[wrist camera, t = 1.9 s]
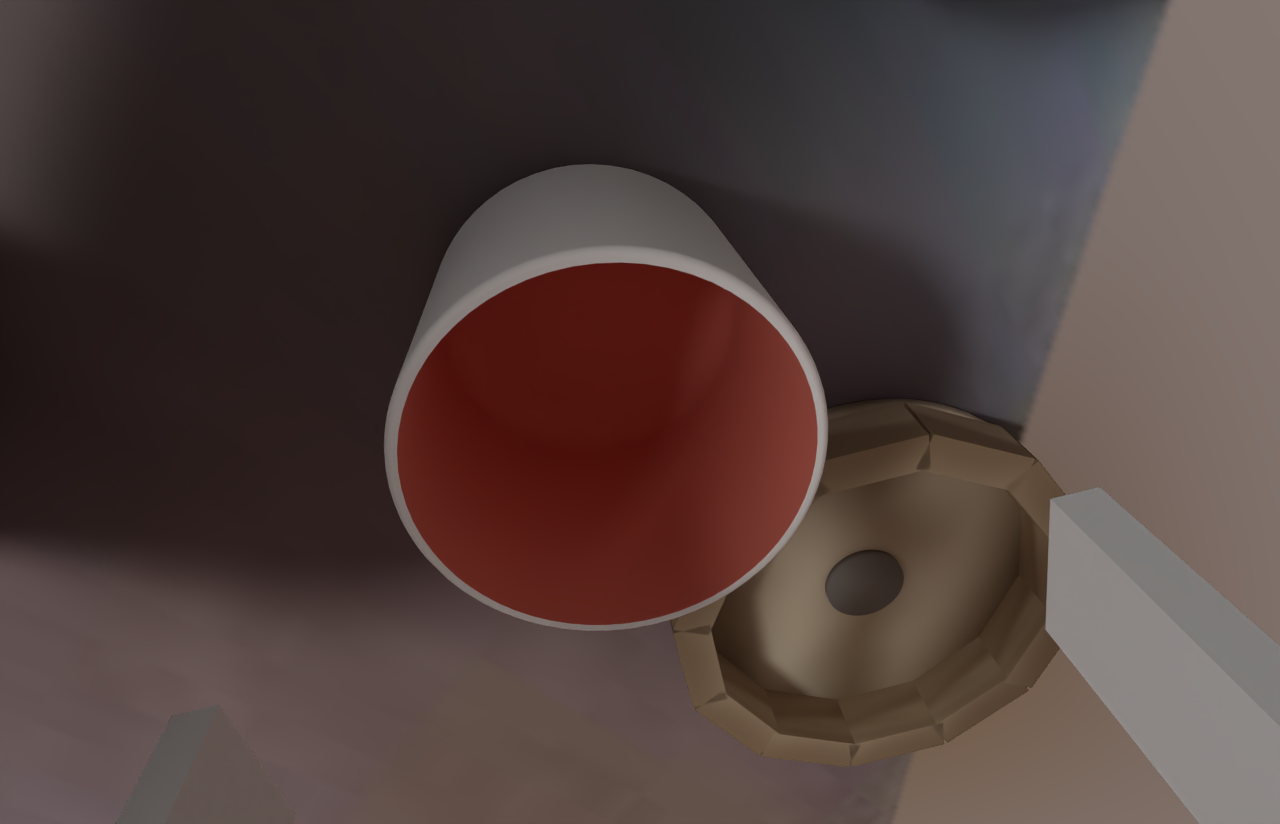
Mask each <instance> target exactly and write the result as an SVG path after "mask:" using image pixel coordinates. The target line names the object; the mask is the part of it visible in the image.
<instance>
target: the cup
mask: <svg viewBox="0 0 1280 824" xmlns="http://www.w3.org/2000/svg"><path fill="white" fill-rule="evenodd" d="M827 444H828V415H827V405H826V400H825V394H824V389H823V386H822V382H821V379H820V375H819V373H818V370H817V368H816V365H815V363H814V360H813V358H812V356H811V354H810V352H809V350H808V348H807V346H806V345H805V343H804V342H803V340H802V338H801V337H800V335H799V334H798V332H797V331H796V329H795V328H794V327H793V325H792V324H791V323H790V321H789V320H788V319H787V318H786V316H785V315H784V314H783V312H782V311H781V310H780V308H779V307H778V306H777V304H776V303H775V302H774V300H773V299H772V298H771V297H770V295H769V294H768V293H767V291H766V290H765V289H764V287H763V286H762V285H761V283H760V282H759V281H758V279H757V278H756V277H755V275H754V274H753V273H752V272H751V270H750V269H749V268H748V266H747V265H746V264H745V262H744V261H743V260H742V258H741V257H740V256H739V254H738V253H737V252H736V251H735V249H734V248H733V247H732V245H731V244H730V243H729V241H728V240H727V239H726V237H725V236H724V235H723V233H722V232H721V231H720V230H719V228H718V227H717V226H716V224H715V223H714V222H713V220H712V219H711V218H710V217H709V216H708V215H707V214H706V213H705V212H704V211H703V210H702V209H701V208H700V207H699V206H698V205H697V204H696V203H695V202H693V201H692V200H691V199H690V198H689V197H687V196H686V195H685V194H683V193H682V192H680V191H679V190H677V189H675V188H674V187H672V186H671V185H669V184H667V183H665V182H663V181H661V180H659V179H656V178H654V177H652V176H650V175H647V174H644V173H641V172H638V171H635V170H632V169H627V168H622V167H617V166H611V165H598V164H583V165H569V166H564V167H558V168H552V169H549V170H545V171H542V172H539V173H535V174H533V175H530V176H528V177H526V178H523V179H521V180H519V181H516V182H515V183H513V184H511V185H509V186H508V187H506V188H504V189H502V190H501V191H499V192H498V193H497V194H495V195H494V196H493V197H491V198H490V199H488V200H487V201H486V202H485V203H484V204H483V205H482V206H480V207H479V208H478V209H477V210H476V211H475V212H474V213H473V214H472V215H471V216H470V218H469V219H468V220H467V221H466V222H465V223H464V224H463V226H462V227H461V228H460V230H459V231H458V233H457V234H456V235H455V237H454V239H453V240H452V242H451V244H450V245H449V247H448V249H447V251H446V253H445V256H444V258H443V260H442V262H441V265H440V267H439V270H438V273H437V275H436V278H435V281H434V284H433V286H432V289H431V292H430V294H429V297H428V300H427V302H426V305H425V308H424V311H423V313H422V316H421V318H420V321H419V324H418V326H417V329H416V332H415V334H414V337H413V339H412V342H411V345H410V347H409V350H408V353H407V355H406V358H405V361H404V363H403V366H402V368H401V371H400V374H399V376H398V379H397V382H396V384H395V387H394V390H393V393H392V396H391V400H390V403H389V408H388V412H387V417H386V424H385V433H384V457H385V469H386V474H387V479H388V485H389V489H390V492H391V495H392V499H393V502H394V505H395V507H396V509H397V512H398V514H399V517H400V519H401V521H402V523H403V524H404V526H405V528H406V530H407V532H408V533H409V535H410V537H411V538H412V540H413V541H414V543H415V544H416V546H417V547H418V548H419V549H420V551H421V552H422V553H423V554H424V556H425V557H426V558H427V559H428V560H429V561H430V562H431V563H432V564H433V565H434V566H435V567H436V568H437V569H438V570H439V571H440V572H441V573H442V574H443V575H444V576H445V577H446V578H447V579H448V580H449V581H451V582H452V583H453V584H455V585H456V586H457V587H459V588H460V589H461V590H463V591H464V592H466V593H467V594H469V595H470V596H472V597H474V598H475V599H477V600H479V601H480V602H482V603H484V604H486V605H488V606H490V607H492V608H494V609H496V610H498V611H501V612H503V613H506V614H509V615H511V616H514V617H516V618H519V619H522V620H526V621H530V622H533V623H537V624H541V625H546V626H551V627H557V628H563V629H574V630H586V631H597V630H619V629H629V628H636V627H641V626H647V625H652V624H656V623H660V622H664V621H667V620H671V619H674V618H677V617H680V616H683V615H685V614H688V613H691V612H693V611H696V610H698V609H700V608H702V607H705V606H707V605H709V604H711V603H713V602H715V601H717V600H718V599H720V598H722V597H724V596H725V595H727V594H729V593H731V592H732V591H734V590H735V589H737V588H738V587H739V586H741V585H742V584H744V583H745V582H747V581H748V580H749V579H750V578H752V577H753V576H754V575H755V574H756V573H758V572H759V571H760V570H761V569H762V568H764V567H765V566H766V565H767V564H768V563H769V562H770V561H771V560H772V559H773V558H774V557H775V556H776V555H777V554H778V552H779V551H780V550H781V549H782V548H783V547H784V546H785V544H786V543H787V542H788V540H789V539H790V538H791V537H792V535H793V534H794V533H795V531H796V529H797V528H798V526H799V525H800V523H801V522H802V520H803V519H804V517H805V515H806V513H807V511H808V509H809V507H810V505H811V503H812V501H813V498H814V496H815V494H816V491H817V489H818V486H819V482H820V479H821V476H822V473H823V468H824V464H825V459H826V453H827Z"/></svg>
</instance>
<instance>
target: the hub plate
mask: <svg viewBox="0 0 1280 824" xmlns="http://www.w3.org/2000/svg"><path fill="white" fill-rule="evenodd" d="M827 415H828V444H827V453H826V459H825V464H824V468H823V473H822V476H821V479H820V482H819V486H818V489H817V491H816V494H815V496H814V498H813V501H812V503H811V505H810V507H809V509H808V511H807V513H806V515H805V517H804V519H803V520H802V522H801V523H800V525H799V526H798V528H797V529H796V531H795V533H794V534H793V535H792V537H791V538H790V539H789V540H788V542H787V543H786V544H785V546H784V547H783V548H782V549H781V550H780V551H779V552H778V554H777V555H776V556H775V557H774V558H773V559H772V560H771V561H770V562H769V563H768V564H767V565H766V566H765V567H764V568H762V569H761V570H760V571H759V572H758V573H756V574H755V575H754V576H753V577H752V578H750V579H749V580H748V581H747V582H745V583H744V584H742V585H741V586H739V587H738V588H737V589H735V590H734V591H732V592H731V593H729V594H727V595H725V596H724V597H722V598H720V599H718V600H717V601H715V602H713V603H711V604H709V605H707V606H705V607H702V608H700V609H698V610H696V611H693V612H691V613H688V614H685V615H683V616H680V617H677V618H674V619H671V620H670V621H671V626H672V630H673V635H674V638H675V642H676V646H677V649H678V653H679V657H680V660H681V664H682V668H683V671H684V675H685V679H686V682H687V686H688V690H689V693H690V697H691V701H692V704H693V707H695V710H696V711H697V712H699V713H700V714H701V715H703V716H704V717H706V718H707V719H708V720H710V721H711V722H713V723H714V724H715V725H717V726H718V727H720V728H721V729H722V730H724V731H725V732H727V733H728V734H729V735H731V736H732V737H733V738H735V739H736V740H738V741H739V742H740V743H742V744H743V745H745V746H746V747H747V748H749V749H750V750H752V751H753V752H754V753H756V754H757V755H759V754H760V753H761V756H763V757H771V758H779V759H787V760H795V761H803V762H811V763H819V764H827V765H835V766H843V767H848V766H849V764H851V766H852V767H853V766H857V765H861V764H865V763H869V762H873V761H877V760H882V759H886V758H890V757H894V756H898V755H902V754H906V753H910V752H914V751H918V750H922V749H926V748H930V747H934V746H938V745H942V744H944V740H945V741H947V742H949V741H951V740H952V739H954V738H955V737H957V736H959V735H960V734H962V733H963V732H965V731H966V730H968V729H970V728H971V727H973V726H974V725H976V724H977V723H979V722H980V721H982V720H983V719H985V718H987V717H988V716H990V715H991V714H993V713H994V712H996V711H997V710H999V709H1001V708H1002V707H1004V706H1005V705H1007V704H1008V703H1010V702H1012V701H1013V700H1015V699H1016V698H1018V697H1019V696H1021V695H1022V694H1024V693H1026V692H1027V691H1028V689H1027V687H1033V685H1034V684H1035V682H1036V681H1037V679H1038V678H1039V677H1040V675H1041V674H1042V672H1043V671H1044V670H1045V668H1046V667H1047V665H1048V664H1049V663H1050V661H1051V660H1052V658H1053V657H1054V655H1055V654H1056V652H1057V651H1058V650H1059V648H1060V647H1059V646H1058V645H1057V643H1056V642H1055V641H1054V640H1053V638H1052V637H1051V636H1050V635H1049V633H1048V632H1047V631H1046V630H1045V626H1046V600H1047V574H1048V547H1049V521H1050V499H1052V498H1056V497H1060V496H1064V495H1065V494H1064V493H1063V491H1062V490H1061V488H1060V487H1059V486H1058V485H1057V484H1056V482H1055V481H1054V480H1053V478H1052V477H1051V476H1050V474H1049V473H1048V472H1047V471H1046V469H1045V468H1044V467H1043V466H1042V464H1041V463H1040V462H1039V461H1038V460H1037V459H1036V458H1035V457H1034V456H1033V455H1032V454H1031V453H1030V452H1029V451H1028V450H1027V449H1026V448H1024V447H1023V446H1022V445H1021V444H1020V443H1019V442H1018V441H1017V440H1016V439H1015V438H1014V437H1013V436H1012V435H1011V434H1010V433H1008V432H1007V431H1006V430H1005V429H1004V428H1002V427H1001V426H999V425H995V424H991V423H987V422H986V421H984V420H982V419H980V418H978V417H976V416H974V415H972V414H970V413H968V412H966V411H963V410H960V409H957V408H954V407H951V406H948V405H945V404H940V403H934V402H929V401H923V400H914V399H894V398H892V399H878V400H865V401H860V402H855V403H849V404H844V405H839V406H835V407H832V408H829V409H827Z"/></svg>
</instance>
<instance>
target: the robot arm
mask: <svg viewBox="0 0 1280 824" xmlns="http://www.w3.org/2000/svg"><path fill="white" fill-rule="evenodd" d="M1045 630H1046V631H1047V632H1048V633H1049V635H1050V636H1051V637H1052V638H1053V640H1054V641H1055V642H1056V643H1057V645H1058V646H1059V647H1060V648H1061V650H1062V651H1063V652H1064V653H1065V655H1066V656H1067V657H1068V658H1069V660H1070V661H1071V662H1072V664H1073V665H1074V666H1075V667H1076V669H1077V670H1078V671H1079V672H1080V674H1081V675H1082V676H1083V677H1084V679H1085V680H1086V681H1087V682H1088V684H1089V685H1090V686H1091V688H1092V689H1093V690H1094V691H1095V693H1096V694H1097V695H1098V696H1099V698H1100V699H1101V700H1102V701H1103V703H1104V704H1105V705H1106V706H1107V708H1108V709H1109V710H1110V712H1112V714H1113V715H1114V717H1115V718H1116V719H1117V720H1118V722H1119V723H1120V724H1121V725H1122V727H1123V728H1124V729H1125V730H1126V732H1127V733H1128V734H1129V735H1130V737H1131V738H1132V739H1133V740H1134V742H1135V743H1136V744H1137V746H1138V747H1139V748H1140V749H1141V751H1142V752H1143V753H1144V754H1145V756H1146V757H1147V758H1148V759H1149V761H1150V762H1151V763H1152V764H1153V766H1154V767H1155V768H1156V770H1157V771H1158V772H1159V773H1160V775H1161V776H1162V777H1163V778H1164V780H1165V781H1166V782H1167V783H1168V784H1169V786H1170V787H1171V788H1172V790H1173V791H1174V792H1175V794H1176V795H1177V796H1178V797H1179V798H1180V800H1181V801H1182V802H1183V804H1184V805H1185V806H1186V807H1187V808H1188V810H1189V811H1190V812H1191V814H1192V815H1193V816H1194V817H1195V819H1196V820H1197V821H1198V822H1199V824H1280V646H1279V645H1278V644H1277V643H1276V642H1275V641H1274V640H1273V639H1271V638H1270V637H1269V636H1268V635H1267V634H1266V633H1265V632H1263V631H1262V630H1261V629H1260V628H1259V627H1258V626H1256V625H1255V624H1254V623H1253V622H1252V621H1251V620H1250V619H1249V618H1248V617H1246V616H1245V615H1244V614H1243V613H1242V612H1241V611H1240V610H1238V609H1237V608H1236V607H1235V606H1234V605H1233V604H1232V603H1231V602H1229V601H1228V600H1227V599H1226V598H1225V597H1224V596H1222V595H1221V594H1220V593H1219V592H1218V591H1217V590H1216V589H1215V588H1214V587H1212V586H1211V585H1210V584H1209V583H1208V582H1207V581H1206V580H1204V579H1203V578H1202V577H1201V576H1200V575H1199V574H1198V573H1197V572H1195V571H1194V570H1193V569H1192V568H1191V567H1190V566H1188V565H1187V564H1186V563H1185V562H1184V561H1183V560H1182V559H1181V558H1179V557H1178V556H1177V555H1176V554H1175V553H1174V552H1173V551H1172V550H1170V549H1169V548H1168V547H1167V546H1166V545H1165V544H1164V543H1163V542H1161V541H1160V540H1159V539H1158V538H1157V537H1156V536H1155V535H1153V534H1152V533H1151V532H1150V531H1149V530H1148V529H1147V528H1146V527H1144V526H1143V525H1142V524H1141V523H1140V522H1139V521H1138V520H1136V519H1135V518H1134V517H1133V516H1132V515H1131V514H1130V513H1129V512H1127V511H1126V510H1125V509H1124V508H1123V507H1122V506H1121V505H1119V504H1118V503H1117V502H1116V501H1115V500H1114V499H1113V498H1111V497H1110V496H1109V495H1108V494H1107V493H1106V492H1104V490H1102V489H1101V488H1100V487H1097V488H1093V489H1089V490H1085V491H1080V492H1077V493H1072V494H1068V495H1064V496H1060V497H1056V498H1052V499H1050V521H1049V547H1048V574H1047V600H1046V626H1045ZM295 814H296V813H295V812H294V810H293V809H292V808H291V806H290V805H289V803H288V802H287V800H286V799H285V798H284V796H283V795H282V793H281V792H280V790H279V789H278V788H277V786H276V785H275V783H274V782H273V780H272V779H271V778H270V776H269V775H268V773H267V772H266V770H265V769H264V768H263V766H262V765H261V763H260V762H259V760H258V759H257V758H256V756H255V755H254V753H253V752H252V750H251V749H250V748H249V746H248V745H247V743H246V742H245V740H244V739H243V738H242V736H241V735H240V733H239V732H238V730H237V729H236V727H235V726H234V725H233V723H232V722H231V720H230V719H229V717H228V716H227V715H226V713H225V712H224V710H223V709H222V707H221V706H220V705H215V706H211V707H207V708H203V709H199V710H195V711H191V712H187V713H183V714H179V715H175V716H171V718H170V720H169V722H168V724H167V726H166V728H165V730H164V732H163V734H162V735H161V737H160V739H159V741H158V743H157V745H156V747H155V749H154V751H153V753H152V755H151V757H150V759H149V760H148V762H147V764H146V766H145V768H144V770H143V772H142V774H141V776H140V778H139V780H138V782H137V784H136V786H135V787H134V789H133V791H132V793H131V795H130V797H129V799H128V801H127V803H126V805H125V807H124V809H123V811H122V812H121V814H120V816H119V818H118V820H117V822H116V824H293V820H294V817H295Z"/></svg>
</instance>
